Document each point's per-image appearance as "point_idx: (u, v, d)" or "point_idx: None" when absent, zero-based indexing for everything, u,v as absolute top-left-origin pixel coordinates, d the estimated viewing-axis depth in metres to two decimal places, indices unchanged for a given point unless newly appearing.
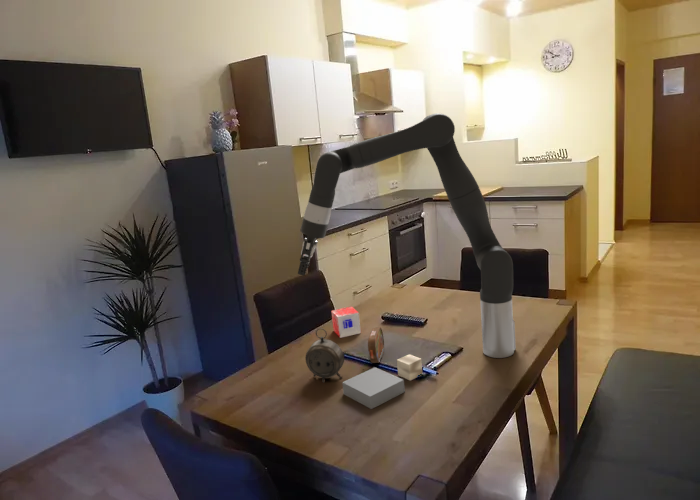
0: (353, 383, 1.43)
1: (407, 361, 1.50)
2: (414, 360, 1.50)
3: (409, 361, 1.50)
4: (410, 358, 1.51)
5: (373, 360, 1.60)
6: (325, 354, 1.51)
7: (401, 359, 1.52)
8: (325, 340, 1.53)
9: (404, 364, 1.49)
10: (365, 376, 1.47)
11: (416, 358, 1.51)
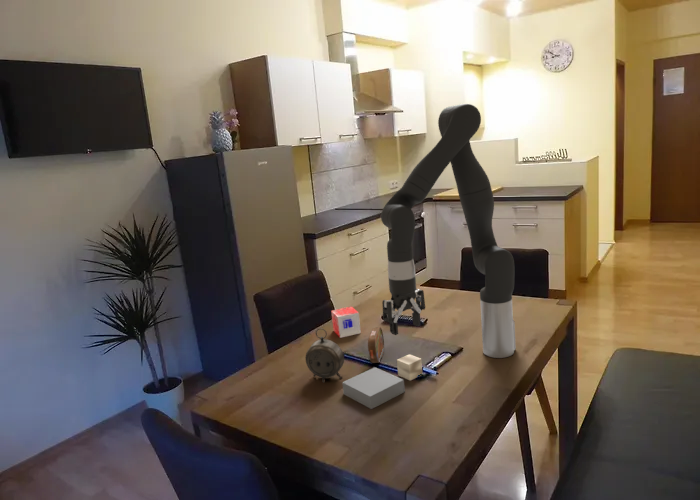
0: (353, 383, 1.43)
1: (407, 361, 1.50)
2: (414, 360, 1.50)
3: (409, 361, 1.50)
4: (410, 358, 1.51)
5: (373, 360, 1.60)
6: (325, 354, 1.51)
7: (401, 359, 1.52)
8: (325, 340, 1.53)
9: (404, 364, 1.49)
10: (365, 376, 1.47)
11: (416, 358, 1.51)
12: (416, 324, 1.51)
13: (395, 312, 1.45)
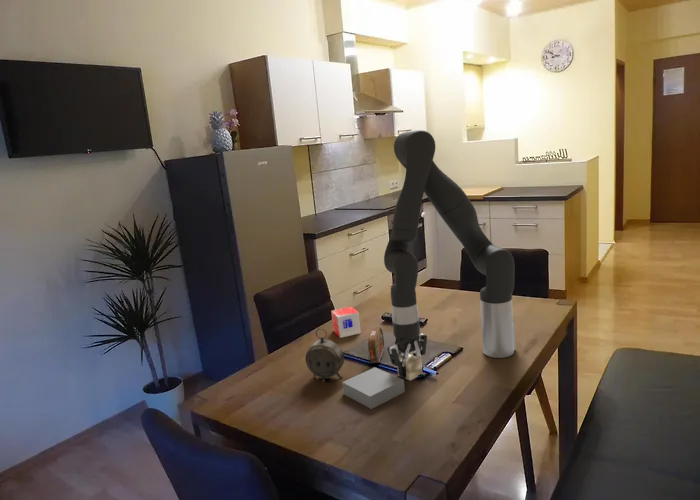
0: (353, 383, 1.43)
1: (407, 360, 1.50)
2: (414, 360, 1.50)
3: (409, 360, 1.50)
4: (410, 358, 1.51)
5: (373, 360, 1.60)
6: (325, 354, 1.51)
7: (401, 359, 1.52)
8: (325, 340, 1.53)
9: None
10: (365, 376, 1.47)
11: (416, 358, 1.51)
12: None
13: (402, 356, 1.49)
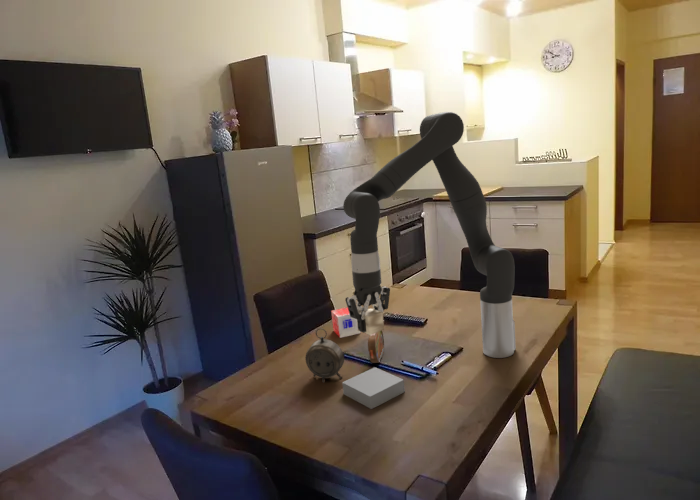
0: (353, 383, 1.43)
1: (367, 314, 1.39)
2: (375, 313, 1.39)
3: (369, 314, 1.39)
4: (370, 312, 1.41)
5: (373, 360, 1.60)
6: (325, 354, 1.51)
7: None
8: (325, 340, 1.53)
9: None
10: (365, 376, 1.47)
11: (377, 311, 1.40)
12: None
13: (361, 308, 1.38)
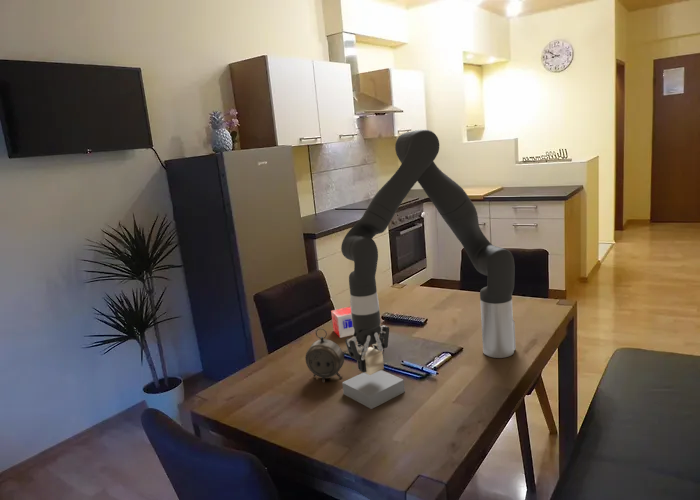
0: (353, 383, 1.43)
1: (367, 354, 1.40)
2: (374, 353, 1.40)
3: (369, 354, 1.40)
4: (370, 351, 1.42)
5: None
6: (325, 354, 1.51)
7: None
8: (325, 340, 1.53)
9: None
10: (365, 376, 1.47)
11: (377, 351, 1.42)
12: None
13: (361, 349, 1.39)
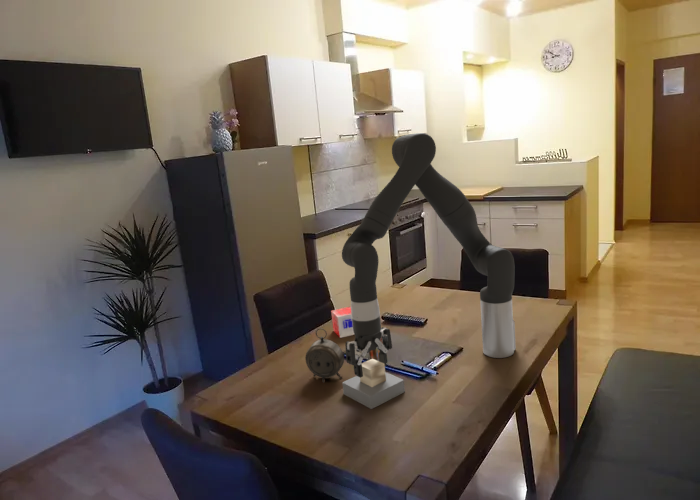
0: (353, 383, 1.43)
1: (369, 366, 1.41)
2: (377, 365, 1.41)
3: (371, 366, 1.41)
4: (372, 363, 1.42)
5: None
6: (325, 354, 1.51)
7: (363, 364, 1.43)
8: (325, 340, 1.53)
9: (366, 369, 1.40)
10: None
11: (379, 363, 1.42)
12: None
13: (359, 354, 1.39)
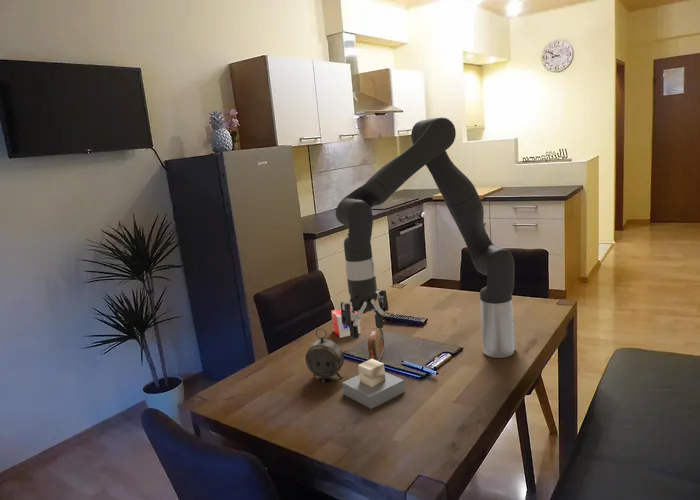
0: (353, 383, 1.43)
1: (369, 366, 1.41)
2: (376, 365, 1.41)
3: (371, 366, 1.41)
4: (372, 363, 1.43)
5: None
6: (325, 354, 1.51)
7: (363, 364, 1.43)
8: (325, 340, 1.53)
9: (365, 369, 1.40)
10: None
11: (378, 363, 1.42)
12: (379, 326, 1.42)
13: (355, 315, 1.36)
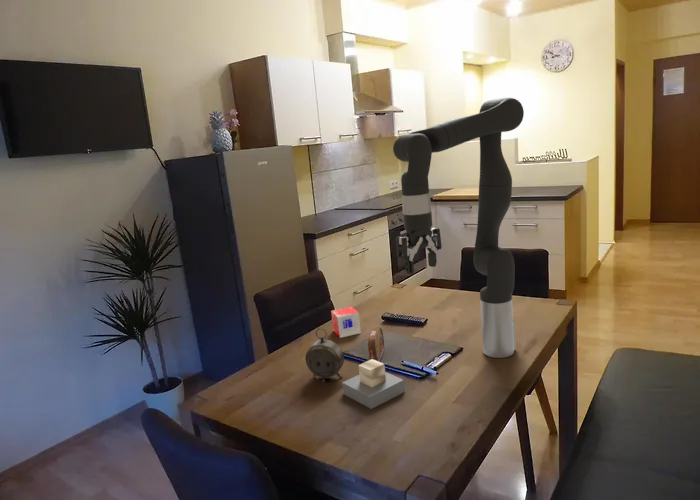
0: (353, 383, 1.43)
1: (369, 366, 1.41)
2: (376, 365, 1.41)
3: (371, 366, 1.41)
4: (372, 364, 1.42)
5: None
6: (325, 354, 1.51)
7: (363, 364, 1.43)
8: (325, 340, 1.53)
9: (366, 369, 1.40)
10: None
11: (379, 363, 1.42)
12: (432, 265, 1.44)
13: (410, 250, 1.38)
